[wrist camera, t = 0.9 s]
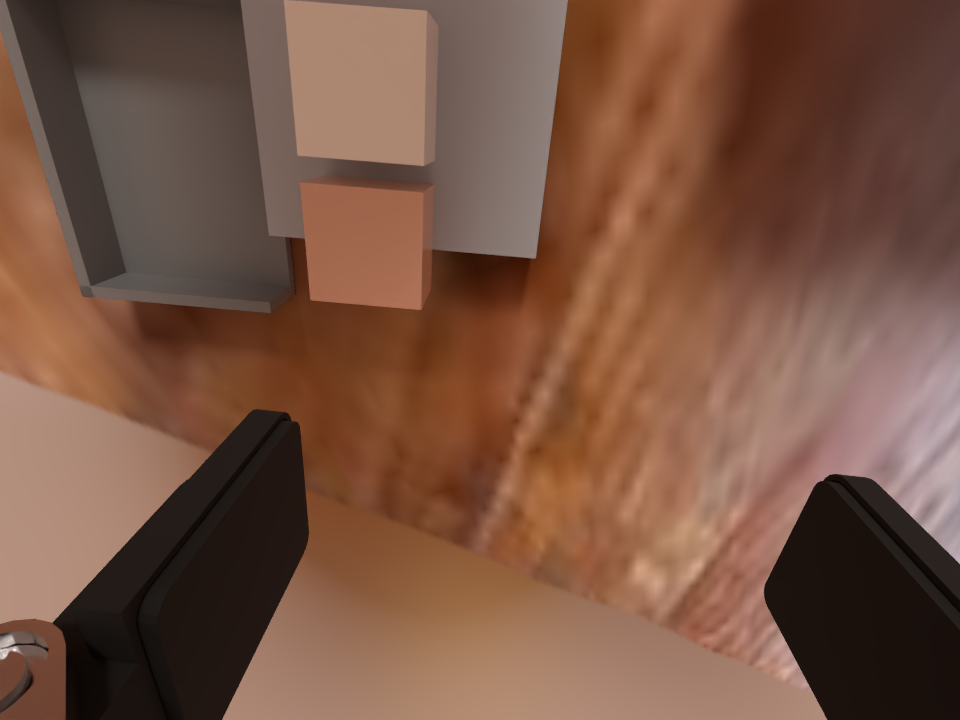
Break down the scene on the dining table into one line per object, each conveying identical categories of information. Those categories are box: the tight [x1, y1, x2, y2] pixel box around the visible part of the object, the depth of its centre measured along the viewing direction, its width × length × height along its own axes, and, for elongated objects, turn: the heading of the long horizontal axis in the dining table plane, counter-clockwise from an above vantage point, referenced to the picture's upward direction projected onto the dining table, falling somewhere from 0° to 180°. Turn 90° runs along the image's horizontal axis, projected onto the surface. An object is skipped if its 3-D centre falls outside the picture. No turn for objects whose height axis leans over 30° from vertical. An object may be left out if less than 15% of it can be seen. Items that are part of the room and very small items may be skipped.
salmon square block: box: [300, 175, 434, 310], centre depth 22 cm, size 5×5×3 cm
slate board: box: [241, 0, 568, 258], centre depth 22 cm, size 12×13×3 cm
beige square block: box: [284, 0, 439, 166], centre depth 19 cm, size 5×5×3 cm
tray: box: [0, 0, 296, 313], centre depth 24 cm, size 14×10×3 cm
